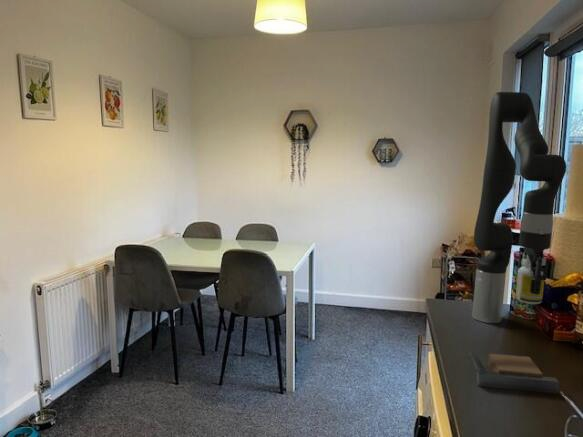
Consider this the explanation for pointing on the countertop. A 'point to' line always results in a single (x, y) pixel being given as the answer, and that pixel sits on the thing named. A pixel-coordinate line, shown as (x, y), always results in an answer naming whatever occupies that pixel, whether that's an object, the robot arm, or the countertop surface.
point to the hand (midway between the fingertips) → (529, 289)
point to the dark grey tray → (513, 380)
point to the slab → (513, 365)
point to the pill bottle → (527, 286)
